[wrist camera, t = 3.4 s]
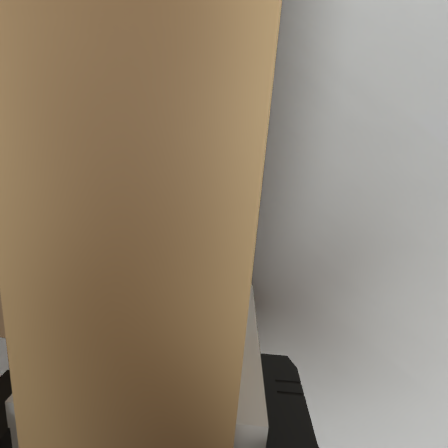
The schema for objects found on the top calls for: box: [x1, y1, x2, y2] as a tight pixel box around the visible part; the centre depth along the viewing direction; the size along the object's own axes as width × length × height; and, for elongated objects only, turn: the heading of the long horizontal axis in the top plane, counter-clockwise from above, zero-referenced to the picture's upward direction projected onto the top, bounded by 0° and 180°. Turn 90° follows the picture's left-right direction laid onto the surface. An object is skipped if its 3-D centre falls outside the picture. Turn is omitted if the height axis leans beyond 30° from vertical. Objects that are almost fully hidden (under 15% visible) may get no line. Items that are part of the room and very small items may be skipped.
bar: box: [0, 0, 282, 448], centre depth 7 cm, size 4×20×4 cm, turn 176°
